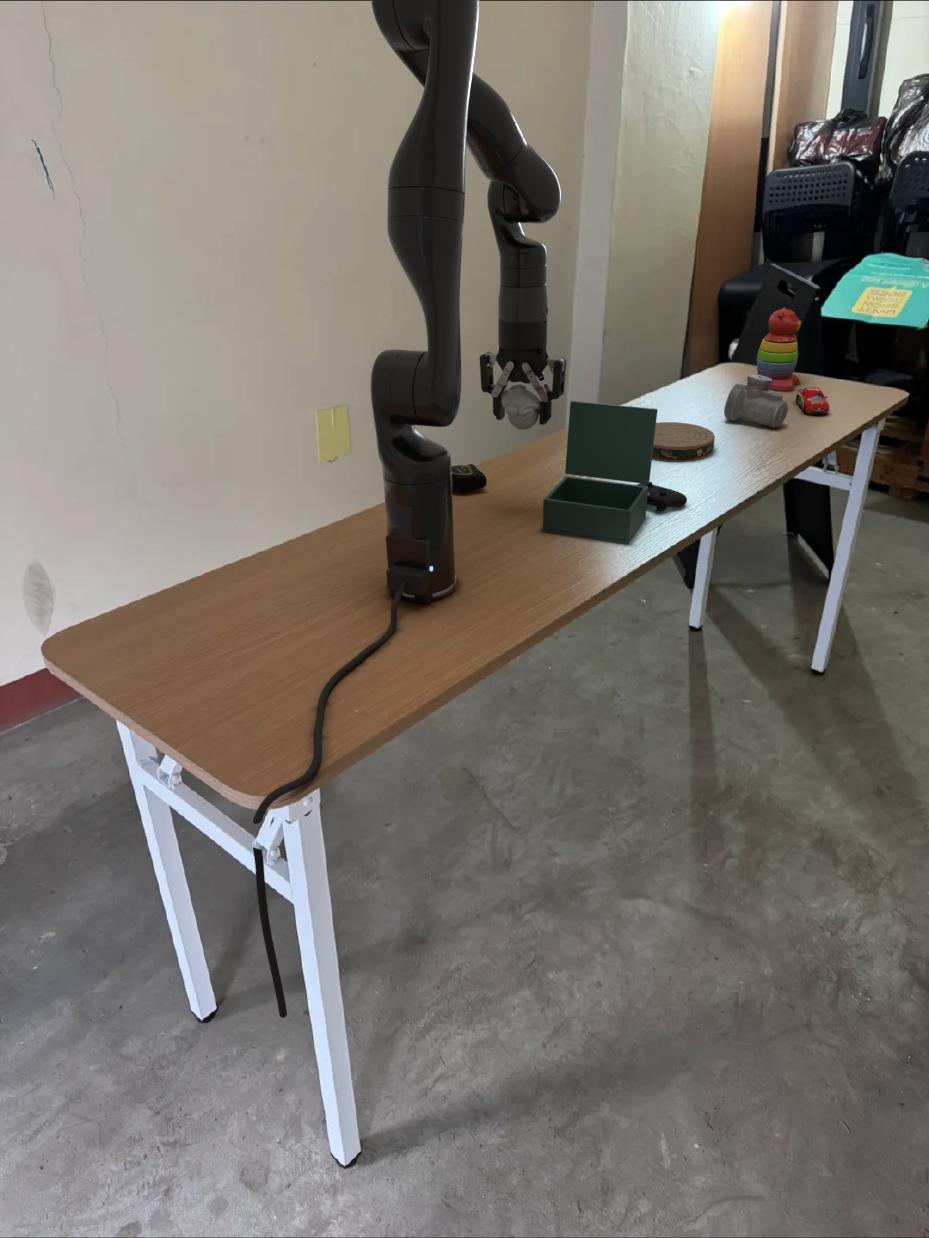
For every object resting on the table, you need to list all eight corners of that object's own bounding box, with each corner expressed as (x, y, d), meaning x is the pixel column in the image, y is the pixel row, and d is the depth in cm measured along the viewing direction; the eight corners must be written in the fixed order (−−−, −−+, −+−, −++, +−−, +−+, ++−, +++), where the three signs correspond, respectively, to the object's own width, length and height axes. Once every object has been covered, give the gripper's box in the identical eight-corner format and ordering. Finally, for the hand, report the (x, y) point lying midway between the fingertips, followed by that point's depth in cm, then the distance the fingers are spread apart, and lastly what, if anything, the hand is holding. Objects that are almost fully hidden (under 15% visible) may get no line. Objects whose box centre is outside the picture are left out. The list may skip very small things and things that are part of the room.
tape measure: (488, 492, 156) (488, 473, 154) (451, 498, 154) (451, 478, 152) (476, 480, 161) (475, 461, 159) (440, 485, 160) (440, 465, 158)
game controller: (690, 499, 148) (680, 482, 143) (676, 526, 147) (665, 511, 142) (642, 486, 154) (630, 470, 149) (629, 512, 153) (616, 497, 148)
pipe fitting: (718, 420, 187) (730, 373, 182) (734, 415, 192) (747, 369, 187) (769, 437, 181) (784, 389, 175) (785, 431, 186) (800, 384, 181)
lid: (656, 409, 136) (657, 408, 136) (570, 401, 141) (571, 400, 142) (648, 484, 140) (649, 483, 141) (564, 473, 146) (566, 473, 146)
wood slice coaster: (701, 434, 181) (702, 420, 179) (722, 460, 167) (724, 445, 165) (625, 437, 180) (626, 423, 179) (640, 463, 167) (642, 448, 165)
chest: (628, 544, 135) (630, 511, 132) (542, 531, 140) (543, 499, 137) (645, 518, 144) (648, 486, 141) (564, 506, 149) (565, 476, 146)
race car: (830, 417, 189) (833, 399, 187) (804, 416, 190) (807, 398, 188) (818, 400, 200) (821, 383, 198) (793, 399, 201) (796, 382, 199)
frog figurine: (514, 420, 145) (514, 379, 142) (549, 427, 142) (550, 384, 138) (493, 430, 141) (493, 387, 137) (529, 437, 137) (530, 393, 134)
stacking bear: (790, 392, 207) (803, 314, 198) (748, 387, 211) (758, 311, 202) (800, 381, 215) (813, 306, 206) (759, 377, 219) (769, 304, 210)
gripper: (470, 317, 132) (472, 423, 140) (559, 322, 127) (556, 432, 135) (489, 308, 138) (490, 410, 146) (575, 313, 133) (571, 419, 141)
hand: (522, 420), depth 141 cm, fingers closed on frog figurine, 7 cm apart
